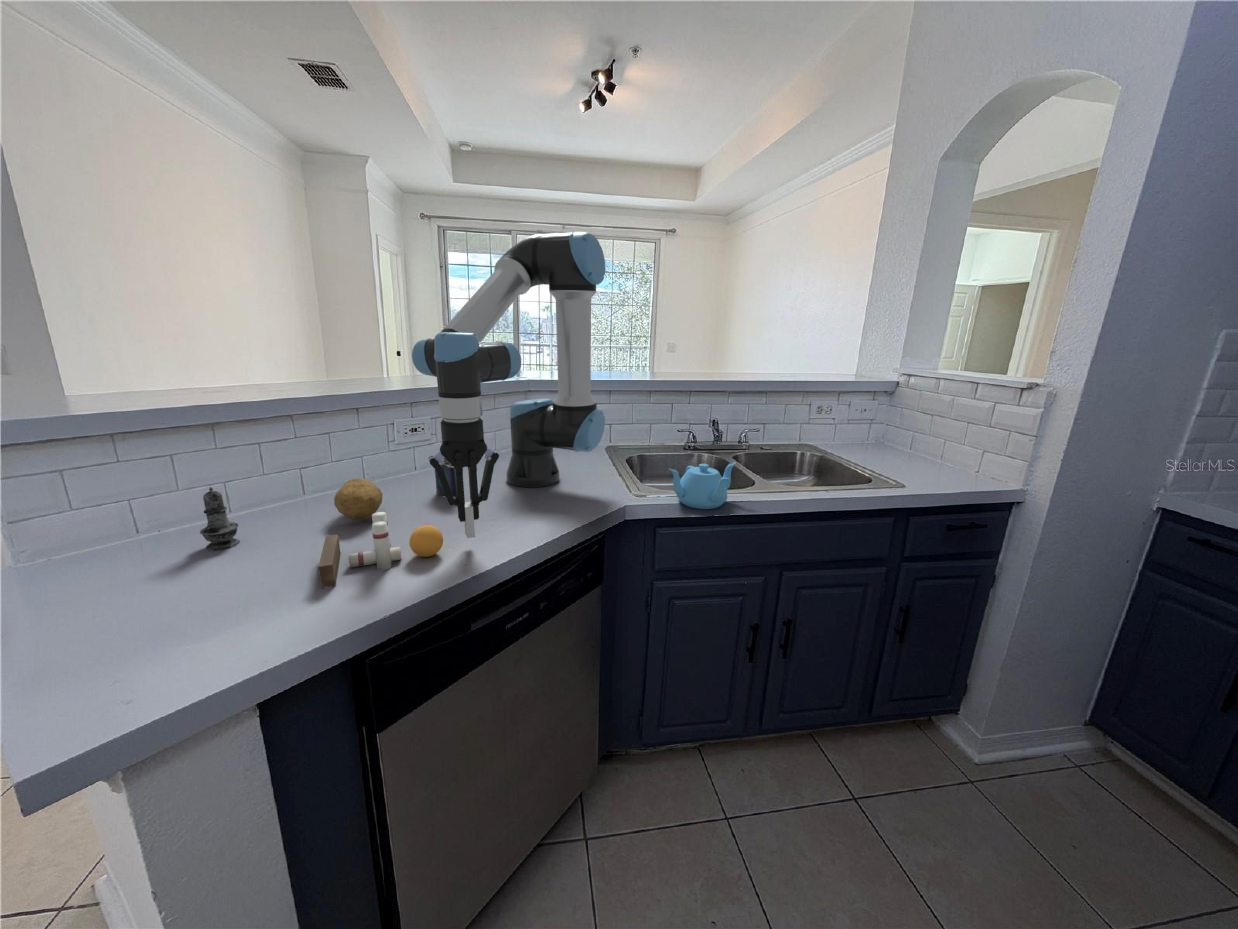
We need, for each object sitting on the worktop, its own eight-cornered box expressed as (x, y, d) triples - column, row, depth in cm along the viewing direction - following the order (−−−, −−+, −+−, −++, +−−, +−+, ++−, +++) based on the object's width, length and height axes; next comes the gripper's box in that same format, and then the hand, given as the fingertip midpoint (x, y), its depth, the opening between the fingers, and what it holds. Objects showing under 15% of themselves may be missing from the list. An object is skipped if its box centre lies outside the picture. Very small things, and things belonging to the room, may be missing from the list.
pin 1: (391, 551, 94) (386, 511, 92) (391, 557, 92) (386, 515, 89) (376, 554, 93) (371, 512, 91) (376, 559, 91) (371, 517, 88)
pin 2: (391, 563, 90) (387, 520, 87) (392, 569, 87) (387, 525, 85) (376, 565, 89) (371, 522, 86) (376, 571, 86) (371, 527, 84)
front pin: (399, 544, 92) (348, 551, 88) (400, 550, 89) (348, 558, 86) (400, 555, 92) (350, 563, 89) (401, 562, 90) (350, 570, 87)
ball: (404, 525, 92) (412, 552, 95) (407, 538, 87) (415, 566, 90) (436, 516, 95) (443, 543, 97) (441, 528, 90) (448, 556, 92)
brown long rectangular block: (340, 553, 93) (337, 534, 91) (335, 586, 81) (332, 564, 80) (328, 555, 92) (325, 536, 91) (321, 588, 81) (318, 566, 79)
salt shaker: (239, 536, 99) (227, 480, 96) (244, 545, 95) (232, 487, 92) (202, 544, 95) (188, 486, 92) (205, 554, 91) (191, 494, 88)
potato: (335, 531, 102) (329, 496, 100) (338, 509, 114) (333, 477, 112) (385, 524, 106) (381, 490, 104) (383, 503, 118) (380, 472, 116)
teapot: (681, 490, 135) (684, 454, 132) (736, 498, 129) (739, 461, 127) (666, 507, 122) (668, 468, 119) (725, 516, 116) (729, 476, 113)
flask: (434, 493, 127) (431, 454, 124) (444, 491, 129) (441, 452, 126) (454, 502, 121) (451, 461, 118) (464, 499, 123) (462, 458, 120)
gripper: (493, 412, 95) (498, 523, 102) (422, 417, 90) (433, 533, 97) (501, 419, 89) (507, 536, 96) (425, 424, 84) (437, 548, 90)
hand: (470, 534), depth 96 cm, fingers closed
